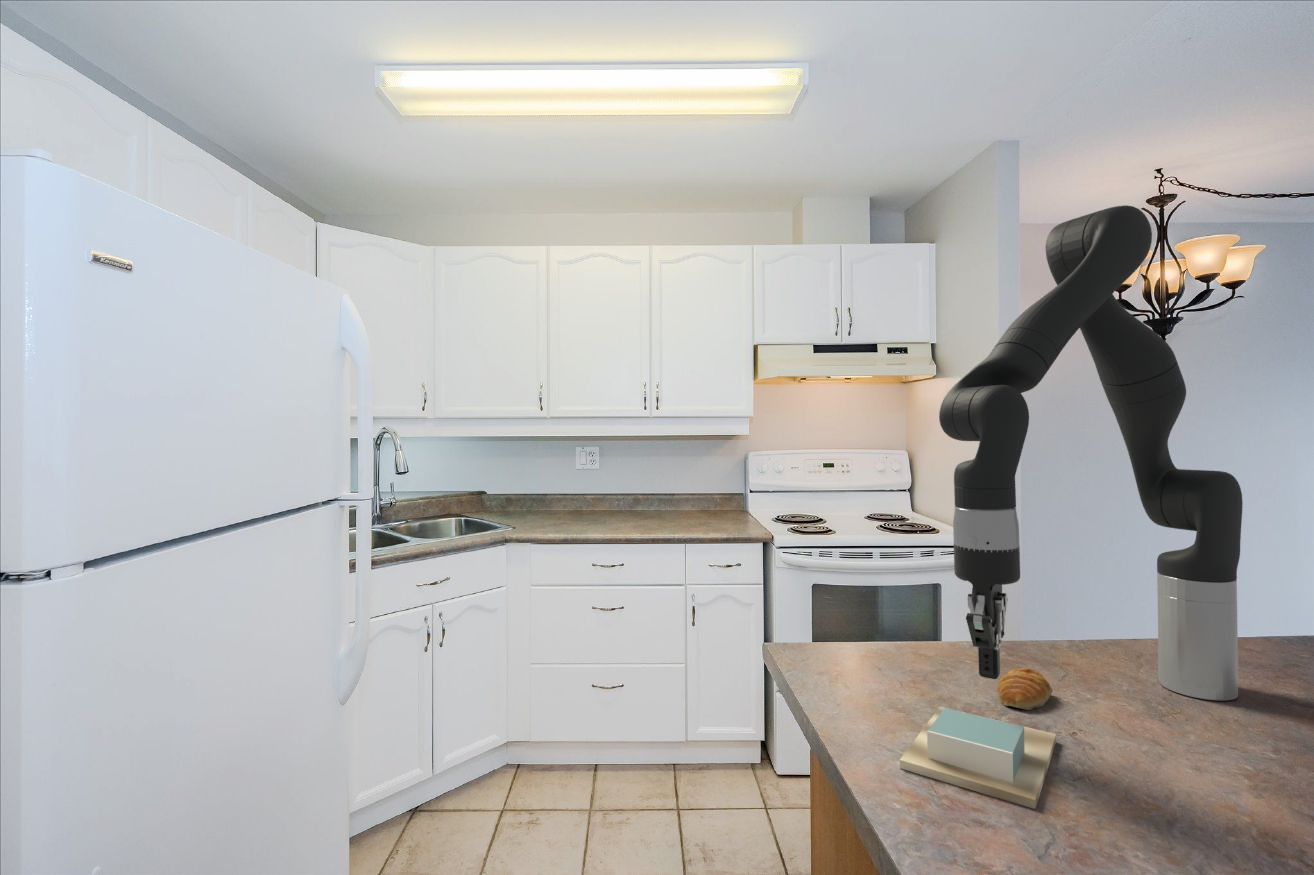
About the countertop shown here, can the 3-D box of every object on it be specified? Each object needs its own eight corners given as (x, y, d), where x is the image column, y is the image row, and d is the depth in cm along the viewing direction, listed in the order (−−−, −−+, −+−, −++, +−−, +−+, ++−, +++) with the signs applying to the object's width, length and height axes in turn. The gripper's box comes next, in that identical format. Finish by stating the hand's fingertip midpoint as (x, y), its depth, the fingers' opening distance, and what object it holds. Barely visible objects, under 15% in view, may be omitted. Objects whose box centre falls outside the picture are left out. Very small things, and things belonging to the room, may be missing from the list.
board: (940, 713, 90) (939, 706, 90) (1056, 741, 81) (1056, 733, 81) (899, 768, 76) (899, 759, 76) (1035, 809, 67) (1035, 799, 67)
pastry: (1042, 718, 89) (1041, 691, 88) (989, 706, 93) (988, 680, 93) (1053, 696, 96) (1053, 670, 96) (1003, 685, 100) (1003, 661, 100)
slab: (944, 707, 82) (927, 731, 76) (1024, 726, 77) (1012, 753, 71) (945, 732, 82) (927, 757, 76) (1024, 752, 77) (1012, 782, 71)
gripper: (1009, 554, 74) (1013, 701, 74) (1027, 536, 85) (1030, 665, 85) (941, 548, 79) (945, 687, 79) (965, 532, 89) (969, 654, 89)
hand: (989, 675), depth 82 cm, fingers closed
